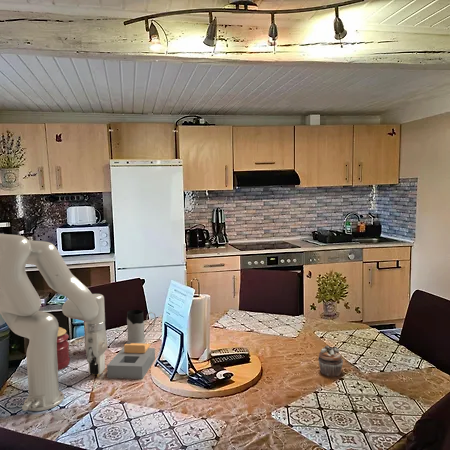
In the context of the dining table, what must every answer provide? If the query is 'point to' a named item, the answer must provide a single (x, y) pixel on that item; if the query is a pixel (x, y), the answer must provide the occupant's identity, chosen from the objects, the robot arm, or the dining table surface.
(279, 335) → the dining table surface
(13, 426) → the dining table surface
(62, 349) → the canister
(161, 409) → the dining table surface
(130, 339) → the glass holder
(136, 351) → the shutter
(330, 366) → the cupcake
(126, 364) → the socket
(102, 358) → the block
